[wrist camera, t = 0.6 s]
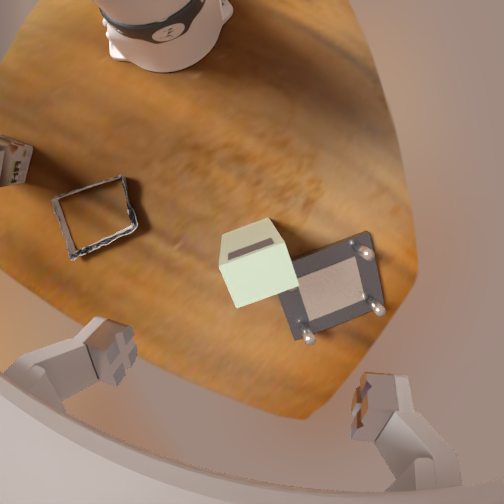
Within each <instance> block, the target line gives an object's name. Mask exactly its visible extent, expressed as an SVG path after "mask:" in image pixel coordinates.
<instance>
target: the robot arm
mask: <svg viewBox="0 0 504 504" xmlns="http://www.w3.org/2000/svg"><path fill="white" fill-rule="evenodd" d="M92 1H93V2H94V3H96V4H97V5H98V6H99V9H100V12H101V14H102V15H103V17H104V19H103V25H104V26H105V27H107V30H108V31H107V33H106V36H107V38H108V39H109V47H110V55H111V57H112V58H113V59H114V60H118V61H129V62H132V63H134V64H136V65H138V66H139V67H141V68H143V69H146V70H149V71H153V72H173V71H177V70H181V69H184V68H187V67H189V66H191V65H193V64H195V63H196V62H198V61H199V60H201V59H202V58H203V57H204V56H206V55H207V54H208V53H209V52H210V50H211V49H212V48H213V46H214V45H215V43H216V41H217V39H218V37H219V34H220V30H221V28H222V26H223V24H224V23H225V22H226V21H227V20H228V19H229V18H230V17H231V16H232V14H233V7H232V5H231V4H230V3H229V1H228V0H92ZM222 4H223V6H222ZM133 336H134V332H133V328H132V327H131V326H128V325H125V324H122V323H119V322H116V321H113V320H110V319H106V318H104V317H101V316H96V317H94V318H93V319H92V320H91V321H90V322H89V323H88V324H87V325H86V326H85V327H84V328H83V329H82V330H81V331H80V332H79V333H78V334H77V335H76V336H75V337H74V339H70V338H69V339H66V340H64V341H61V342H58V343H55V344H52V345H49V346H46V347H43V348H40V349H37V350H35V351H31V352H29V353H26V354H23V355H21V356H20V357H19V358H18V359H17V360H16V361H15V362H14V363H13V364H12V365H11V366H10V367H9V368H8V369H7V370H6V371H5V372H4V373H1V372H0V504H504V477H503V478H498V479H494V480H489V481H485V482H480V483H474V484H468V485H462V479H461V472H460V467H459V460H458V455H457V454H456V452H454V450H453V449H452V448H451V447H450V446H449V445H448V444H447V443H446V441H445V440H444V439H443V438H442V437H441V436H440V435H439V434H438V433H437V432H436V431H435V429H434V428H433V427H432V426H431V425H430V424H429V423H428V422H427V421H426V420H425V419H424V418H423V416H422V415H421V414H420V413H419V412H414V408H413V401H412V396H411V391H410V385H409V381H408V377H407V376H406V375H400V374H384V373H373V372H364V373H363V374H362V376H361V379H360V386H359V387H358V388H356V391H355V393H354V396H353V400H352V408H351V414H352V415H353V417H354V420H353V422H352V424H351V440H357V441H368V442H375V445H376V447H377V448H378V450H379V452H380V453H381V455H382V457H383V458H384V460H385V461H386V463H387V465H388V466H389V468H390V470H391V471H392V473H393V475H394V476H395V478H396V479H397V480H396V481H395V482H394V483H393V484H392V485H391V486H390V487H389V488H387V489H386V490H385V491H384V492H352V491H333V490H321V489H311V488H302V487H294V486H287V485H280V484H274V483H268V482H262V481H257V480H251V479H247V478H242V477H238V476H233V475H229V474H225V473H220V472H216V471H213V470H209V469H206V468H202V467H198V466H195V465H192V464H188V463H185V462H182V461H178V460H176V459H172V458H169V457H167V456H164V455H160V454H157V453H155V452H152V451H150V450H147V449H144V448H142V447H139V446H137V445H134V444H132V443H129V442H126V441H124V440H122V439H120V438H117V437H115V436H113V435H110V434H108V433H106V432H104V431H102V430H99V429H97V428H95V427H93V426H91V425H89V424H87V423H85V422H83V421H81V420H79V419H77V418H75V417H73V416H71V415H69V414H68V413H67V412H66V409H65V407H64V405H63V404H62V402H61V401H63V400H65V399H67V398H69V397H70V396H72V395H74V394H76V393H78V392H80V391H82V390H83V389H85V388H87V387H89V386H91V385H93V384H94V383H96V382H98V380H100V381H102V382H105V383H108V384H111V385H113V386H116V387H117V386H118V385H119V383H120V382H121V380H122V379H123V378H124V376H125V370H126V369H128V368H130V367H131V366H132V365H133V363H134V362H135V359H136V356H137V345H136V343H135V342H134V340H133V339H132V337H133Z"/></svg>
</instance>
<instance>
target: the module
mask: <svg viewBox="0 0 504 504" xmlns="http://www.w3.org/2000/svg"><path fill="white" fill-rule="evenodd" d="M219 269H220V271H221V273H222V276H223V278H224V280H225V283H226V285H227V287H228V290H229V292H230V294H231V297H232V299H233V301H234V304H235V306H236V308H239V307H242V306H245V305H248V304H250V303H253V302H256V301H259V300H262V299H265V298H267V297H270V296H273V295H276V294H278V293H281V292H284V291H287V290H289V289H292V288H295V287H297V286H299V283H298V280H297V277H296V274H295V271H294V268H293V265H292V262H291V259H290V256H289V253H288V250H287V247H286V244H285V242H284V240H283V239H282V237H281V236H280V234H279V232H278V231H277V229H276V228H275V226H274V225H273V223H272V222H271V220H270V219H269V217H268V218H265V219H263V220H260V221H257V222H254V223H252V224H249V225H246V226H244V227H241V228H238V229H235V230H233V231H230V232H227V233H225V234H222V240H221V249H220V258H219Z"/></svg>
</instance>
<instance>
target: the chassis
mask: <svg viewBox="0 0 504 504" xmlns="http://www.w3.org/2000/svg"><path fill="white" fill-rule="evenodd" d="M291 262H292V265H293V268H294V271H295V274H296V277H297V280H298V283H299V286H297V287H295V288H292V289H289V290H287V291H284V292H281V293H278V296H279V299H280V301H281V304H282V307H283V310H284V312H285V315H286V318H287V321H288V323H289V326H290V329H291V332H292V334H293V337H294V340H295V341H296V340H298V339H301V338H304V340H305V343H306V344H307V345H313V344H314V343H315V342H316V339H315V337H314V334H315V333H317V332H320V331H322V330H325V329H328V328H330V327H333V326H335V325H338V324H340V323H343V322H345V321H348V320H350V319H352V318H355V317H357V316H360V315H362V314H364V313H367V312H369V311H371V310H373V312H374V313H375V314H376V315H377V316H378V317H382V316H383V315H384V314H385V312H386V310H385V308H384V307H383V305H384V300H383V295H382V289H381V284H380V279H379V274H378V269H377V265H376V260H375V254H374V251H373V247H372V242H371V238H370V234H369V232H367V231H364V232H361V233H359V234H356V235H353V236H351V237H348V238H346V239H343V240H340V241H338V242H335V243H332V244H330V245H327V246H324V247H322V248H319V249H316V250H314V251H311V252H308V253H306V254H303V255H300V256H298V257H295V258H292V259H291Z"/></svg>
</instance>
